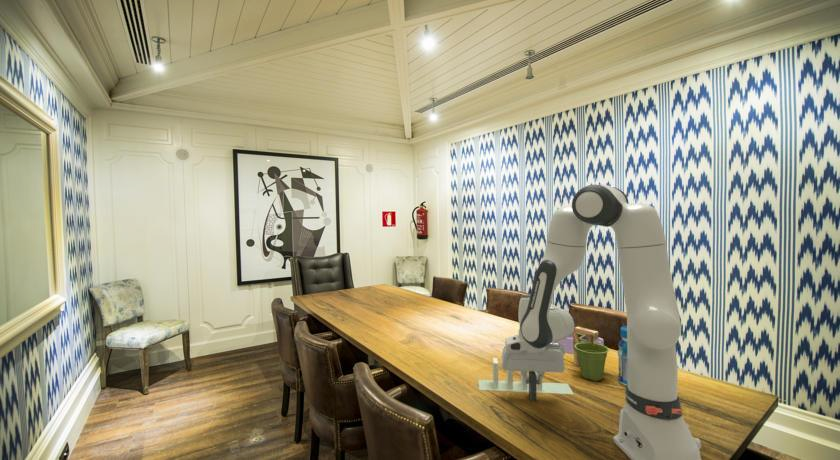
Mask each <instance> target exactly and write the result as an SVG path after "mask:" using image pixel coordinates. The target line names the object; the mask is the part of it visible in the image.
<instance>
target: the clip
mask: <svg viewBox="0 0 840 460" xmlns="http://www.w3.org/2000/svg"><path fill="white" fill-rule="evenodd" d="M598 342H599V344H600V345H603V346H605V345H604V339H603V338H602V337H599V336H598ZM554 343H560V345H563V346H564V348H565V353H566V354H571V355H574V350H573V334H572V335H571V336H569V337H567V338H565V339H562V340H560V341H557V342H554Z"/></svg>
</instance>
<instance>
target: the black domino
mask: <svg viewBox="0 0 840 460" xmlns="http://www.w3.org/2000/svg"><path fill="white" fill-rule="evenodd" d="M528 377H529V392H528V396H529V399H530V402H535V403H537V393H536V373H535V371H528Z"/></svg>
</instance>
